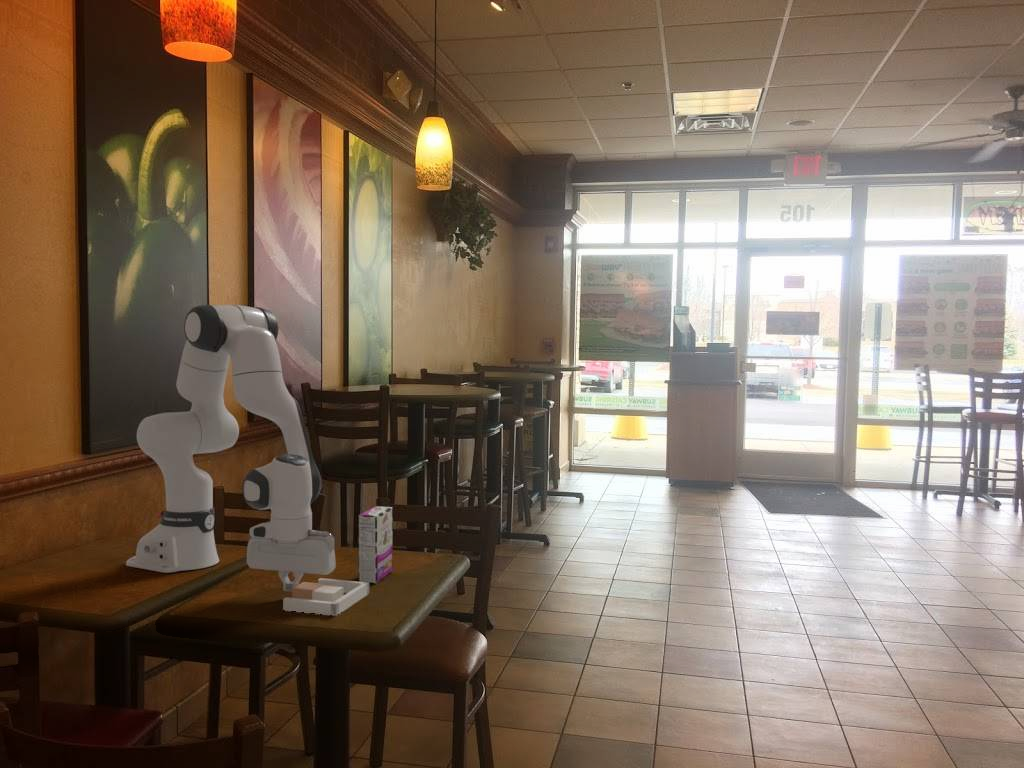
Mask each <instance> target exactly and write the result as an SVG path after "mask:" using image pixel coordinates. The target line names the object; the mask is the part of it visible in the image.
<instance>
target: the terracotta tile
mask: <svg viewBox="0 0 1024 768" xmlns="http://www.w3.org/2000/svg"><path fill="white" fill-rule="evenodd" d="M323 585H324V584H321V583H318V582H308V581H302V582H301V583H299V585H297V586H295V587H293V588H292V591H291V592H292V593H291V598H298V599H308V600H312V591H314V590H316V589H317V588H319V587H321V586H323Z"/></svg>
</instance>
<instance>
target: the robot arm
mask: <svg viewBox="0 0 1024 768" xmlns="http://www.w3.org/2000/svg"><path fill="white" fill-rule="evenodd" d="M183 326H184V327H183V328H184V329H183V330H184V331H183V332H184V336H185V338H186V340H185V343H184V347H183V350H182V356H181V359H180V364H179V369H178V374H177V379H176V382H175V383H176V389H177V392H178V394H179V395H180V396H181V397H182V398H184V399H185V400H186V401H189V402H190V403H191V408H190V410H189V411H179V412H178V411H177V412H173V411H172V412H161V413H157V414H153V415H150V416H146V417H145V418H143V419H142V420H141V421H140V423H139V424H138V428H137V431H136V442H137V445H138V446H139V448H140V449H141V451H142V453H144V454H145V455H147V456H148V457H150V458H151V459H152V461H154V462H155V463H156V464H157V466H158V468H159V469H160V472H161V473H162V477H163V479H164V480H163V481H164V487H165V509H164V510H162V511H161V512H156V515H157V516H156V518H160V520H159V524H158V525H156V526H155V527H154V528H153V529H151V530H150V531H149V532H147V533H146V534H145V535H144V536H142V537H141V538H140V539H139V540H138V542H137V546H136V552H135V555H134V556H132V557H130V558H128V559H127V560H126V561H125V566H126V567H131V568H138V569H142V570H148V571H154V572H159V573H164V574H166V573H167V574H168V573H176V572H181V571H191V570H200V569H205V568H209V567H211V566H214V565H216V564H218V563H219V562H220V558H219V555H218V551H217V547H216V541H215V533H214V527H215V520H216V518H215V507H214V506H213V502H214V501H213V499H214V498H213V496H214V495H213V494H214V493H213V490H214V489H213V488H214V487H213V485H214V481H213V479H212V476H211V475H210V474H209V473H208V472H207V471H205V470H203V469H201V468H198V467H197V466H196V465H195V462H194V457H193V456H194V455H199V454H200V455H201V454H209V453H210V454H211V453H217V452H220V451H224V450H227V449H231V448H232V447H233V446H235V444H236V442H237V441H238V438H239V435H240V426H239V424H238V421H237V419H236V418H235V416H234V415H233V414H232V413H231V412H230V411H229V410H228V409H227V407H226V405H225V400H224V392H225V386H226V385H225V384H226V379H227V375H228V371H229V370H228V369H229V364H231V376H232V389H233V393H234V397H235V400H236V402H238V404H239V405H240V406H241V407H243V409H245V410H246V411H248V412H250V413H252V414H254V415H256V416H260V417H263V418H266V419H267V420H269V421H272V422H273V423H275V425H276V426H278V427H279V429H280V430H281V432H282V436H283V439H284V443H285V447H286V451H287V453H285V454H279V455H277V456H275V457H274V458H273V459H272V461H271V462H269V463H268V464H265V465H263V466H259V467H256V468H254V469H250V471H248V472H247V473H246V475H245V476H244V479H243V482H242V486H241V491H242V498H243V500H244V501H245V502H246V504H247V505H248V506H249V507H250V508H252V509H253V510H259V511H263V510H269V509H270V510H271V513H270V520H267V521H265V522H261V523H258V524H257V525H254V526H252V527H250V528H249V536H250V537H251V538H250V539H249V540H248V542H247V548H246V549H247V550H246V564H247V565H248V567H249V568H250V569H254V570H255V569H256V570H257V569H258V570H265V571H266V570H267V571H276V572H277V571H278V577H279V579H280V581H281V582H282V584H283V585H282V586H283V587H282V589H283V591H284V592H292V588H293V587H295V586H297V585H299V584H300V582H301V579H302V578H303V576H304V574H314V575H322V576H323V575H324V576H325V575H330V574H331V573H332V572H333V571H334V570H335V569H336V566H337V565H336V563H337V562H336V554H335V553H336V552H335V547H336V545H335V537H334V535H332V534H331V533H330V532H329V531H326V530H323V531H322V530H321V531H320V530H314V529H313V512H312V508H311V504H313V503H314V502H315V501H316V500H317V498H318V497H319V495H320V494H321V490H322V489H323V480H322V476H321V473H320V471H319V468H318V466H317V464H316V462H315V459H314V454H313V452H312V447H311V443H310V440H309V439H310V438H309V435H308V431H307V428H306V423H305V420H304V417H303V413H302V410H301V406H300V405H299V402H298V400H297V399H296V398H294V396H292V395H291V394H290V392H289V390H288V388H287V386H286V383H285V380H284V376H283V369H282V361H281V356H280V352H279V348H278V345H277V338H278V336H279V323H278V320H277V317H276V316H275V314H274V313H273V312H272V311H270V310H268V309H266V308H263V307H257V306H256V307H252V306H247V305H242V304H241V305H240V304H230V305H229V304H226V305H225V304H217V305H211V304H201V305H197V306H194V307H192V308H191V309H190V310H189V312H188V313H187V315H186V317H185V319H184V325H183ZM230 359H231V360H230ZM230 361H231V363H230ZM290 572H291V573H292V574H293V575H292V577H294V580H293V581H291V580H290V578H289V575H288V574H290Z"/></svg>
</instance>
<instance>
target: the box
mask: <svg viewBox="0 0 1024 768" xmlns="http://www.w3.org/2000/svg"><path fill="white" fill-rule="evenodd" d="M317 583H321V584H324V585H326V586H336V587H344V596H342V597H341V598H339V599H338V600H336V601H334V602H328V601H318V600H308V599H298V598H292V597H288V596H286V597H284V598H283V601H282V611H283V610H285V612H291V611H296V612H295V613H301V612H304V613H303V614H310V613H315V614H314V615H320V614H322V615H323V616H330V615H332V616H331V617H337V616H338V614H339V615H340V614H342V613H343V612H345V611H347V609H349V608H350V607H352V606H354V604H356V603H358V602H359V601H361V600H362V599H363V598H365V597H367V596H368V595H369V594H370V583H368V582H359V581H356V580H355V581H354V580H345V579H336V578H335V579H333V578H324V577H323V578H318V579H317ZM341 612H342V613H341ZM322 615H321V616H322Z"/></svg>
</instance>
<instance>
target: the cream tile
mask: <svg viewBox="0 0 1024 768" xmlns="http://www.w3.org/2000/svg"><path fill="white" fill-rule="evenodd" d="M344 595H345V593H344V587H336V586H326V585H323V586H321V587H319V588H317V589H316V590H314V591H312V600H318V601H328V602H334V601H336V600H338V599H339V598H341V597H342V596H344Z"/></svg>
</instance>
